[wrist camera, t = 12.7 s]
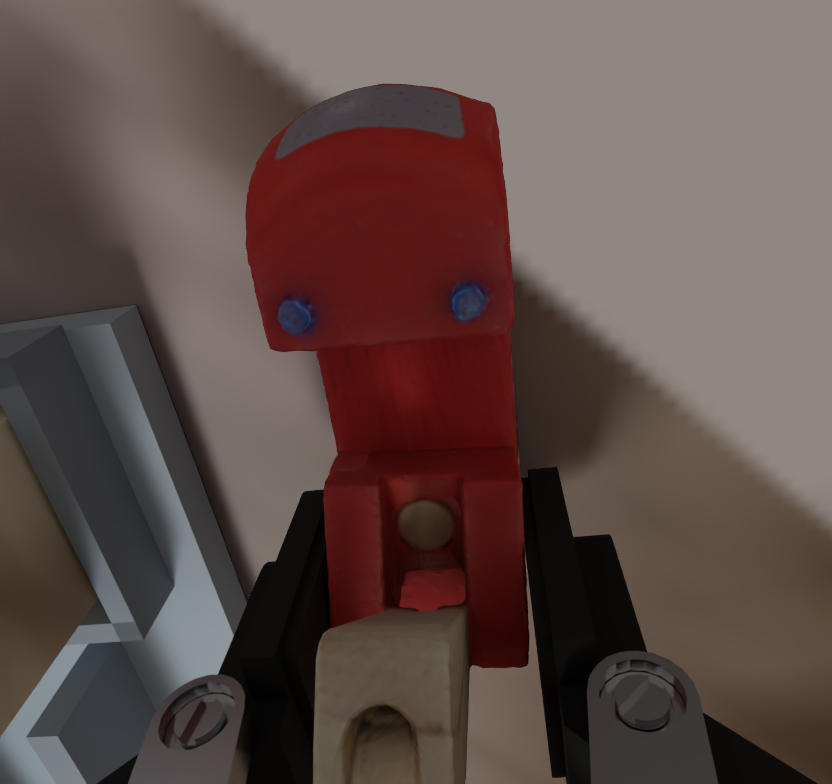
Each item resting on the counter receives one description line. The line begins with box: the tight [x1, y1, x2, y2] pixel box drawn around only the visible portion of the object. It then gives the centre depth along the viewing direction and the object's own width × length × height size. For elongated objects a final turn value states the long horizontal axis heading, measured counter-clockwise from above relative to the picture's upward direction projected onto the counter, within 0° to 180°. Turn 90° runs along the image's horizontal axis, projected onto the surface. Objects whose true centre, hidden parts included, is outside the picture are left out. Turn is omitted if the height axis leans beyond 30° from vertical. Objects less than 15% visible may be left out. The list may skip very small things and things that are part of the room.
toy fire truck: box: [246, 84, 529, 784], centre depth 9 cm, size 3×14×10 cm, turn 6°
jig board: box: [0, 305, 247, 784], centre depth 16 cm, size 23×14×4 cm, turn 9°
